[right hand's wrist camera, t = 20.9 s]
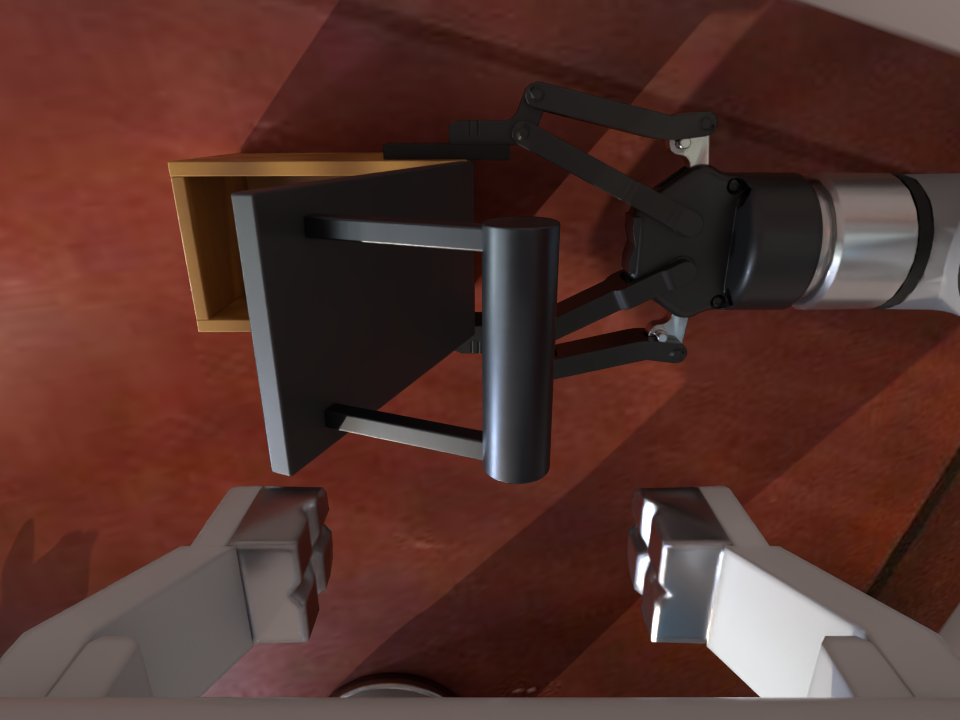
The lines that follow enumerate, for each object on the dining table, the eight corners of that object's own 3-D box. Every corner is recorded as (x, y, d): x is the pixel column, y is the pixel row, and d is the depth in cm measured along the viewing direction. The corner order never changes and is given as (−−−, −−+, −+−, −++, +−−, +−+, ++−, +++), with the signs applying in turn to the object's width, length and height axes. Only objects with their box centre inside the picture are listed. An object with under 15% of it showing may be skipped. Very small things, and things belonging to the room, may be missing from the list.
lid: (270, 472, 20) (523, 536, 17) (229, 192, 17) (532, 206, 14) (461, 333, 34) (623, 354, 30) (458, 160, 30) (639, 164, 27)
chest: (255, 289, 42) (198, 332, 34) (236, 152, 39) (167, 161, 31) (471, 288, 42) (468, 331, 34) (469, 151, 39) (466, 160, 30)
